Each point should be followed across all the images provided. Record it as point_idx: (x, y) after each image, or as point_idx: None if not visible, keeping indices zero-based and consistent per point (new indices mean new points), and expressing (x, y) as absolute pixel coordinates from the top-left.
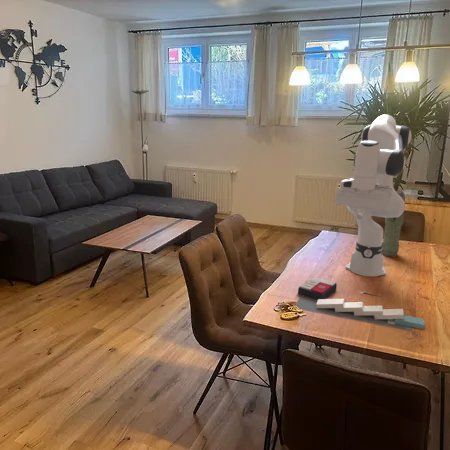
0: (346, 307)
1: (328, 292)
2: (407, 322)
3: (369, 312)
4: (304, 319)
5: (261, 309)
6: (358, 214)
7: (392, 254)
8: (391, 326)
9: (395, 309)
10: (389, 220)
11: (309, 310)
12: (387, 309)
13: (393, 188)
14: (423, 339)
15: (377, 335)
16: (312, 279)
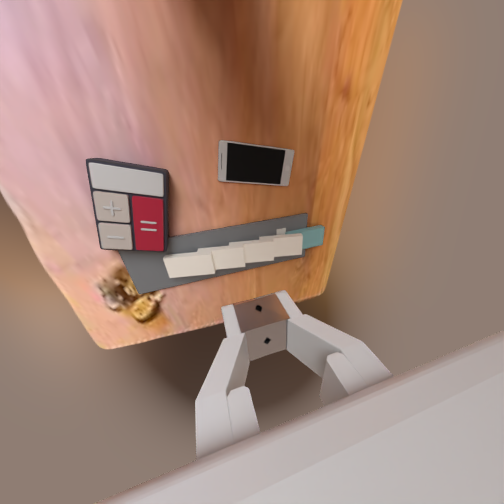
0: (220, 268)
1: (167, 222)
2: (302, 248)
3: (254, 261)
4: (170, 305)
5: (93, 320)
6: (254, 356)
7: None
8: (281, 260)
9: (291, 238)
10: None
11: (165, 286)
12: (279, 238)
13: None
14: (313, 261)
15: (265, 284)
16: (98, 186)
